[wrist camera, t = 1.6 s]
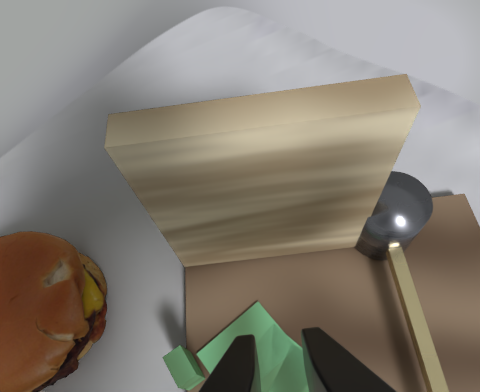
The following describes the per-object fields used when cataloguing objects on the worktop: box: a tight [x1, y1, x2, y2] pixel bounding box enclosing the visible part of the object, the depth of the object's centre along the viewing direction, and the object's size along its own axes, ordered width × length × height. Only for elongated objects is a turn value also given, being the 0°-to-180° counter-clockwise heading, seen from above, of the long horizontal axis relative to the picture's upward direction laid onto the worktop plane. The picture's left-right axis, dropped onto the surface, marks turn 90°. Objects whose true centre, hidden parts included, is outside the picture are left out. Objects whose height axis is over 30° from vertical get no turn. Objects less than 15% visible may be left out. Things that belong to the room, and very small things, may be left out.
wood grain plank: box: [104, 74, 449, 392], centre depth 15 cm, size 13×14×12 cm
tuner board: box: [163, 194, 480, 392], centre depth 19 cm, size 17×19×3 cm
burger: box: [0, 231, 107, 392], centre depth 21 cm, size 10×9×5 cm
